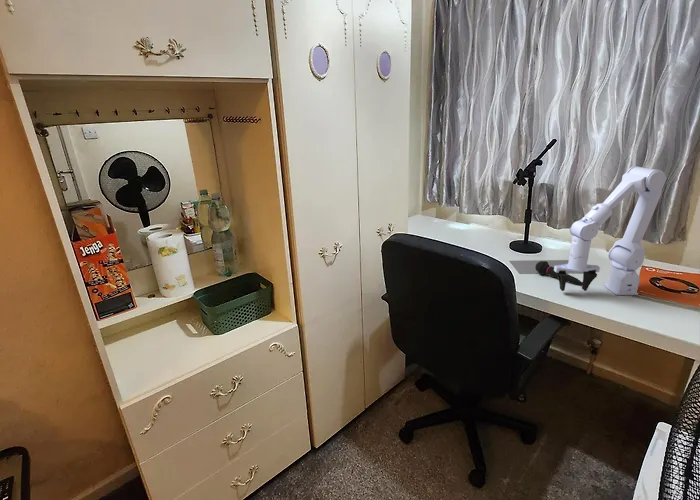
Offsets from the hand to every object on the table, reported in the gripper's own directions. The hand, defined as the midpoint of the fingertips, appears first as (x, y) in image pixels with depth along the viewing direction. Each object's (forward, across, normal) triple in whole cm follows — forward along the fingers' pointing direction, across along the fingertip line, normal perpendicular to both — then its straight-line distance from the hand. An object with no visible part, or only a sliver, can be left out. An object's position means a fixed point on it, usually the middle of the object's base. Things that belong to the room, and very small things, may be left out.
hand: (573, 289), depth 139 cm
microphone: (+2, 0, -12) cm, 12 cm away
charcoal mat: (+2, 0, -25) cm, 25 cm away
